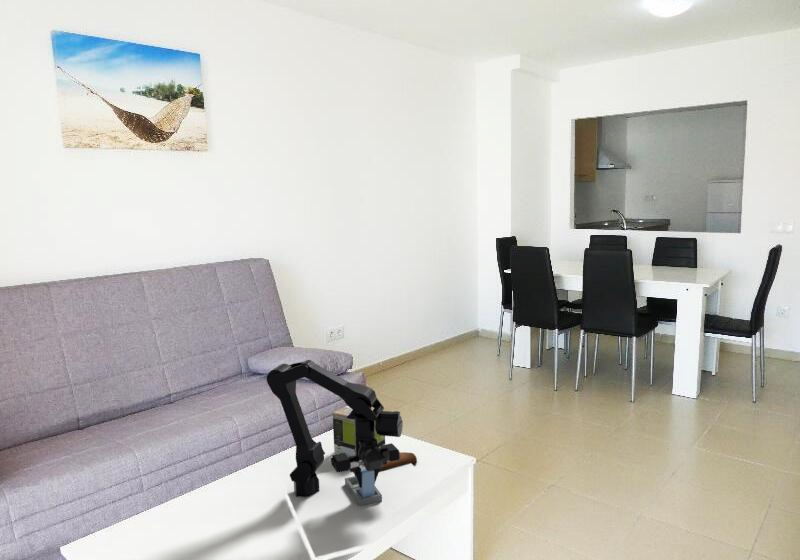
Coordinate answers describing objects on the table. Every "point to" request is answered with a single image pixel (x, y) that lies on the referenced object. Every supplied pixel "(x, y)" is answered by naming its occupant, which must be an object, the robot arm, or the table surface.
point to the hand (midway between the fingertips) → (366, 485)
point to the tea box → (347, 432)
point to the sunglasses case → (399, 461)
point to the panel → (355, 493)
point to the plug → (367, 483)
